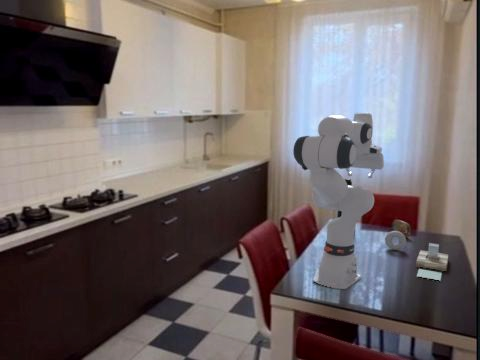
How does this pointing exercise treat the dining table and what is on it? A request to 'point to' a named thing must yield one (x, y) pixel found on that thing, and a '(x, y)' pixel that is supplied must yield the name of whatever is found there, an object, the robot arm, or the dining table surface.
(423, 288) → the dining table surface
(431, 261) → the frame
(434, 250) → the aluminium block
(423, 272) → the green pad
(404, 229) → the tin
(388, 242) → the donut
